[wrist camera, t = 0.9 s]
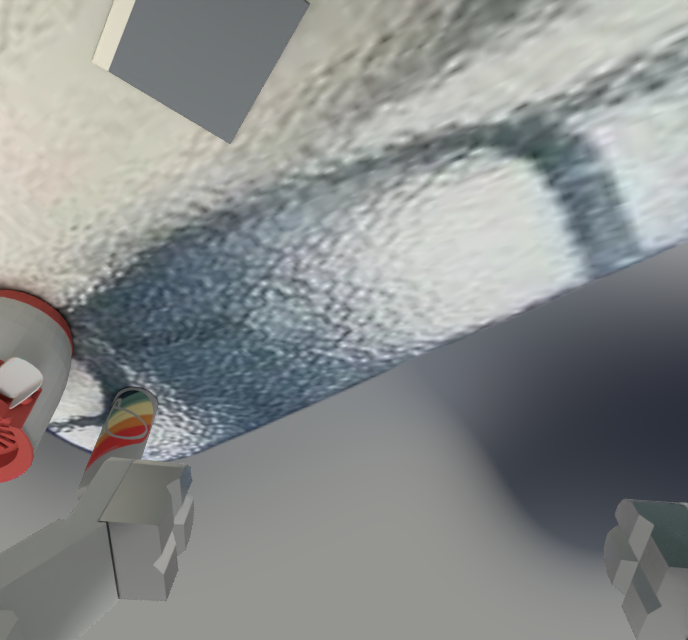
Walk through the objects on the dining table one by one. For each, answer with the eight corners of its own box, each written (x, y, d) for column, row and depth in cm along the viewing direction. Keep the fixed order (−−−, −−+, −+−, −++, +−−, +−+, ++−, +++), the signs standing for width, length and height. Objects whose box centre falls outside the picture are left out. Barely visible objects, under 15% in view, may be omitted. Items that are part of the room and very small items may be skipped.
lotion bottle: (134, 380, 75) (80, 520, 60) (167, 403, 78) (123, 542, 63) (107, 397, 77) (48, 536, 62) (140, 419, 80) (91, 557, 65)
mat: (155, -110, 41) (154, -110, 41) (309, 3, 46) (309, 5, 45) (93, 60, 49) (91, 61, 48) (230, 142, 53) (230, 144, 53)
